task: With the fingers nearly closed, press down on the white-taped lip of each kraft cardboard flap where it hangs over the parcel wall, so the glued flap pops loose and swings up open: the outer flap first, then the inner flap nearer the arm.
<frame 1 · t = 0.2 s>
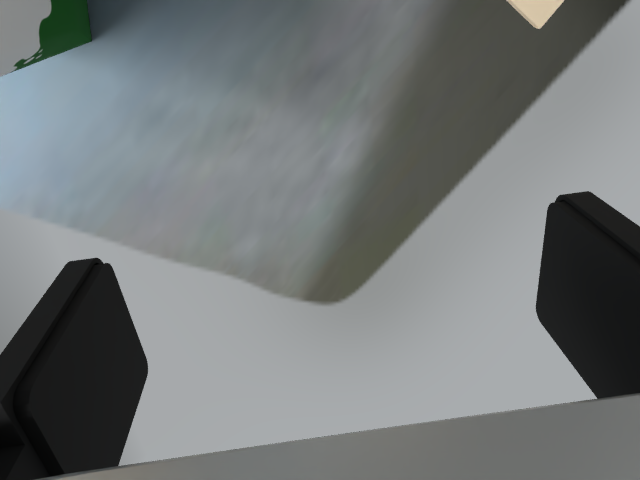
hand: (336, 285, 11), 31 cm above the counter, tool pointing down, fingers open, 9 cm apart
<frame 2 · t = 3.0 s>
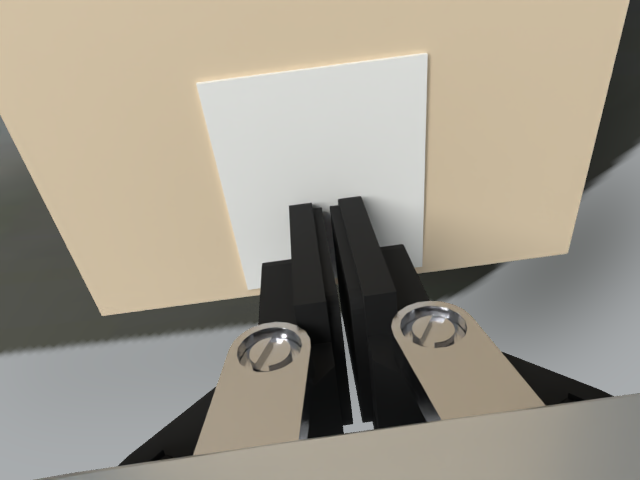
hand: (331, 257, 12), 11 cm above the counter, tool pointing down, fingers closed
outer flap: (309, 47, 9), point 11 cm above the counter, hinge at 6.9°, touching gripper
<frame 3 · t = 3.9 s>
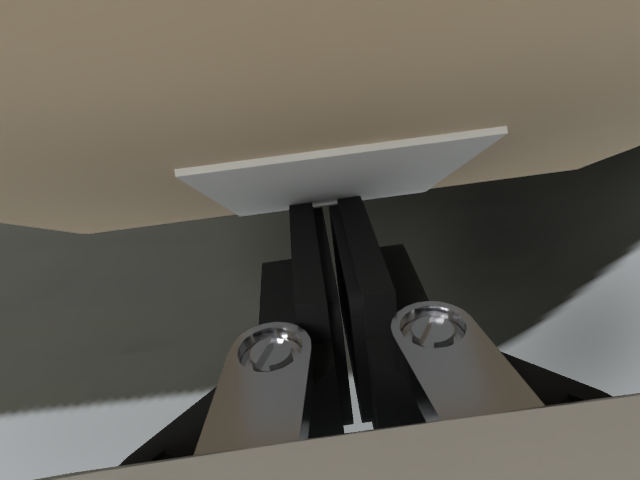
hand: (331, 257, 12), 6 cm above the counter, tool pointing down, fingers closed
outer flap: (339, 122, 6), point 10 cm above the counter, hinge at 57.6°, touching gripper
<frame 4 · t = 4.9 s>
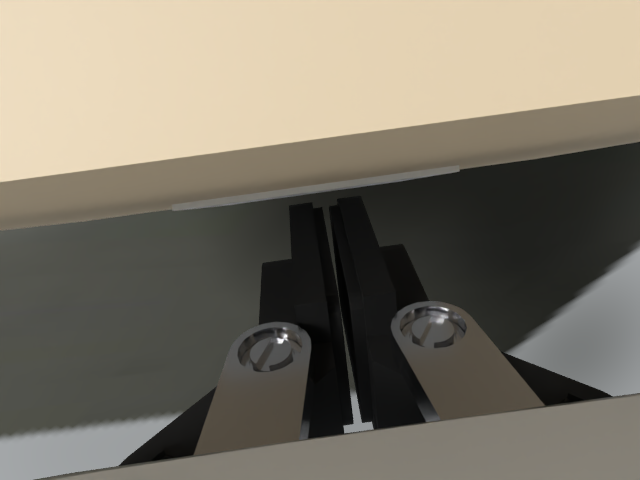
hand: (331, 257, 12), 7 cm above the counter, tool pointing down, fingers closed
outer flap: (314, 167, 7), point 10 cm above the counter, hinge at 67.5°
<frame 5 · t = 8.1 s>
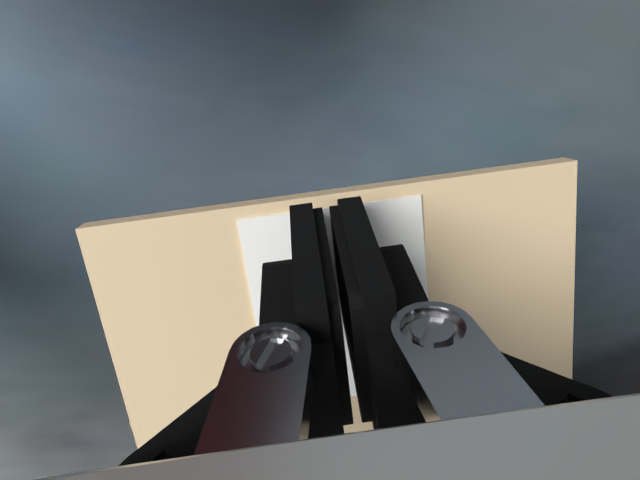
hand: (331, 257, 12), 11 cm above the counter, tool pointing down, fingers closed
inner flap: (352, 397, 14), point 11 cm above the counter, hinge at 12.1°, touching gripper
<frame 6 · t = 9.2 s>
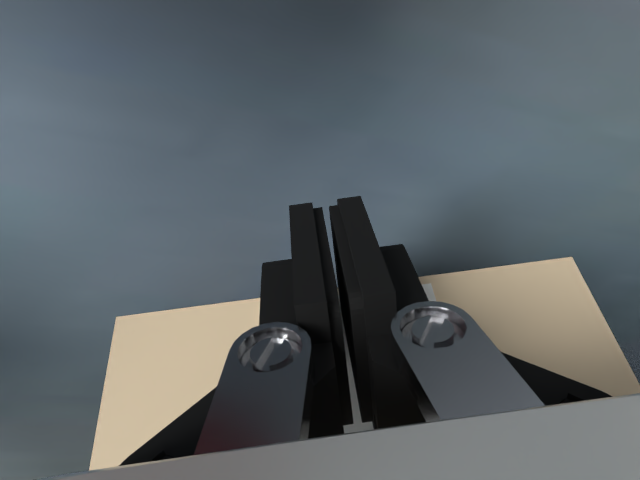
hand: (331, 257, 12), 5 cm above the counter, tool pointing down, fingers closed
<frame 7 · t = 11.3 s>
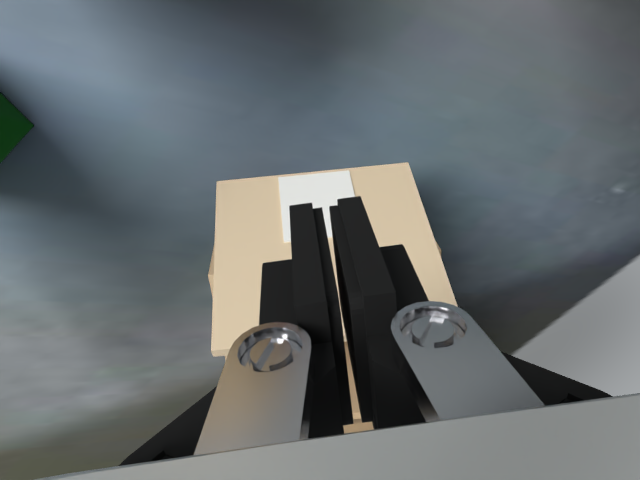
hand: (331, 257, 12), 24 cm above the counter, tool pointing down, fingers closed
parcel: (317, 264, 39), on the counter
inner flap: (324, 245, 27), point 10 cm above the counter, hinge at 68.0°
outer flap: (337, 426, 34), point 10 cm above the counter, hinge at 67.5°
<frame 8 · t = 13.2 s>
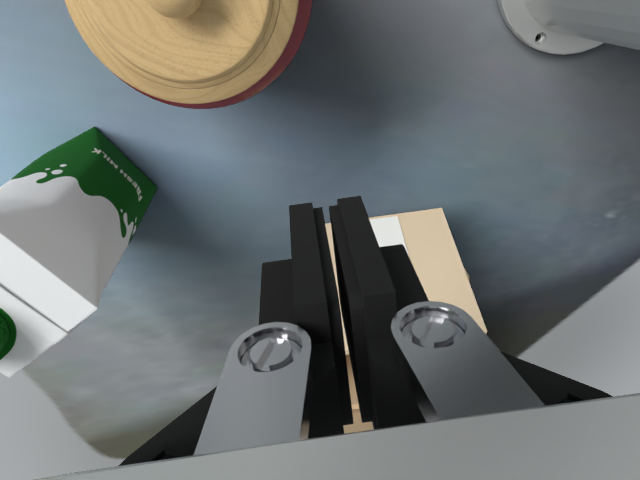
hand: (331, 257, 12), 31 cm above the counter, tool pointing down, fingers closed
parcel: (368, 281, 50), on the counter
milk carton: (100, 181, 43), on the counter
inner flap: (383, 276, 38), point 10 cm above the counter, hinge at 68.0°
outer flap: (391, 407, 44), point 10 cm above the counter, hinge at 67.5°
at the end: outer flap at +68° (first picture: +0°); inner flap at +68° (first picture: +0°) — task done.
